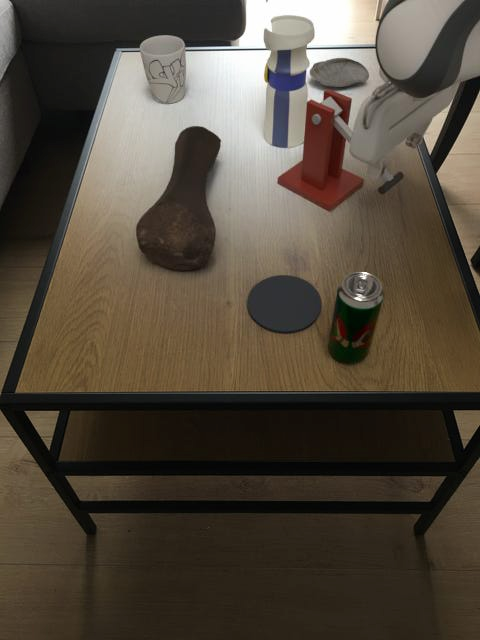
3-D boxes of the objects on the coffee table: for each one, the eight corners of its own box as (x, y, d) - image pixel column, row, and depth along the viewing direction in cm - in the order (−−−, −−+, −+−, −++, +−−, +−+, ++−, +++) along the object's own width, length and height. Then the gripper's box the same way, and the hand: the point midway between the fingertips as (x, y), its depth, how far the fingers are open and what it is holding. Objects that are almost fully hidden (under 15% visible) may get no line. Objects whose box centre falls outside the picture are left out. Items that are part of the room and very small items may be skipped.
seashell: (366, 73, 112) (370, 48, 108) (368, 93, 107) (372, 68, 103) (308, 72, 113) (310, 47, 109) (308, 92, 108) (310, 67, 104)
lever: (398, 182, 81) (408, 173, 79) (379, 198, 79) (388, 189, 77) (328, 103, 81) (336, 92, 79) (307, 116, 79) (314, 105, 77)
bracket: (363, 185, 89) (379, 100, 77) (330, 211, 85) (341, 126, 73) (311, 159, 94) (318, 76, 82) (277, 183, 90) (280, 99, 78)
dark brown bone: (193, 290, 78) (212, 188, 98) (225, 238, 71) (238, 140, 91) (121, 260, 75) (156, 161, 95) (148, 203, 68) (179, 110, 88)
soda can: (371, 339, 69) (389, 274, 60) (363, 370, 66) (381, 307, 57) (332, 329, 70) (344, 264, 61) (323, 360, 67) (334, 296, 58)
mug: (157, 77, 113) (149, 27, 105) (196, 79, 112) (191, 29, 105) (143, 106, 106) (134, 54, 98) (185, 108, 105) (179, 56, 97)
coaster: (324, 282, 75) (325, 279, 75) (317, 339, 69) (317, 336, 69) (254, 273, 77) (254, 270, 76) (240, 328, 71) (240, 325, 70)
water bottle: (255, 145, 97) (254, -8, 77) (269, 120, 102) (271, -30, 82) (299, 153, 95) (310, -2, 75) (311, 127, 100) (324, -25, 80)
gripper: (392, 105, 59) (370, 205, 70) (482, 40, 68) (451, 137, 79) (345, 85, 62) (331, 184, 72) (438, 26, 71) (413, 121, 82)
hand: (394, 159), depth 76 cm, fingers open, 8 cm apart
